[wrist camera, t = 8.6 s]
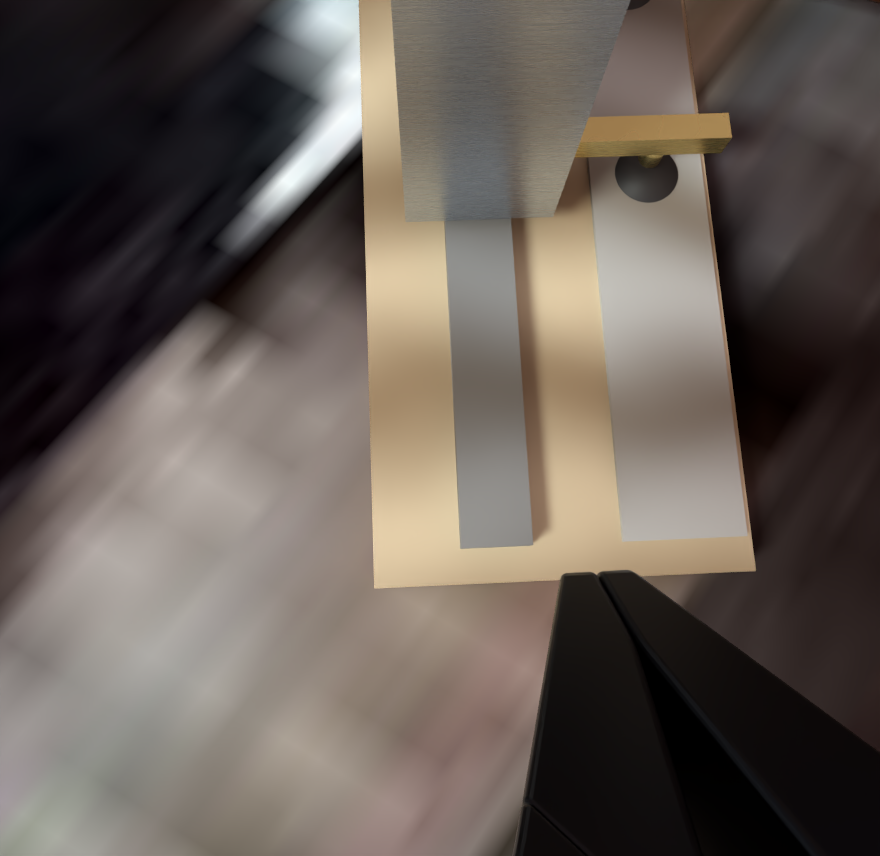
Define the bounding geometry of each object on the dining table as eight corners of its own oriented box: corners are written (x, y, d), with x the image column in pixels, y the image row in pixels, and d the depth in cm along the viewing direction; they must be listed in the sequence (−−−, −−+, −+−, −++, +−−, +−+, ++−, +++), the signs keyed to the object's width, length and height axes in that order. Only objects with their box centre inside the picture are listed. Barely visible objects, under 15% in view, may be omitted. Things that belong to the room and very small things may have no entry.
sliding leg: (717, 221, 22) (1077, -210, 10) (405, 231, 22) (377, -195, 10) (701, 93, 23) (1014, -449, 11) (401, 102, 23) (369, -441, 10)
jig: (738, 570, 22) (1252, 578, 8) (377, 586, 21) (289, 623, 8) (660, -70, 26) (911, -757, 13) (359, -63, 26) (283, -756, 12)
